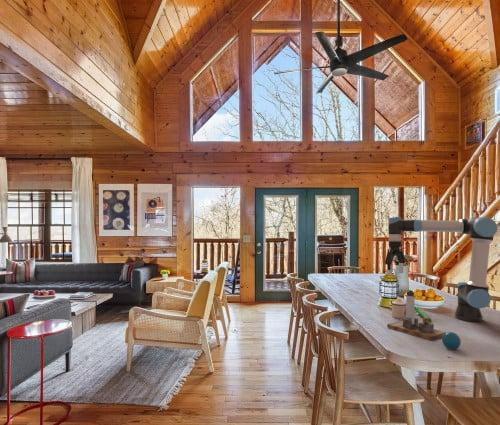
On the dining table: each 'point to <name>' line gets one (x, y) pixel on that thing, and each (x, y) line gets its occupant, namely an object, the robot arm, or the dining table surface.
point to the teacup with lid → (399, 309)
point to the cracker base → (417, 328)
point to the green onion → (421, 313)
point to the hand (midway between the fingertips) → (395, 274)
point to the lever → (410, 306)
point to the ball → (451, 340)
